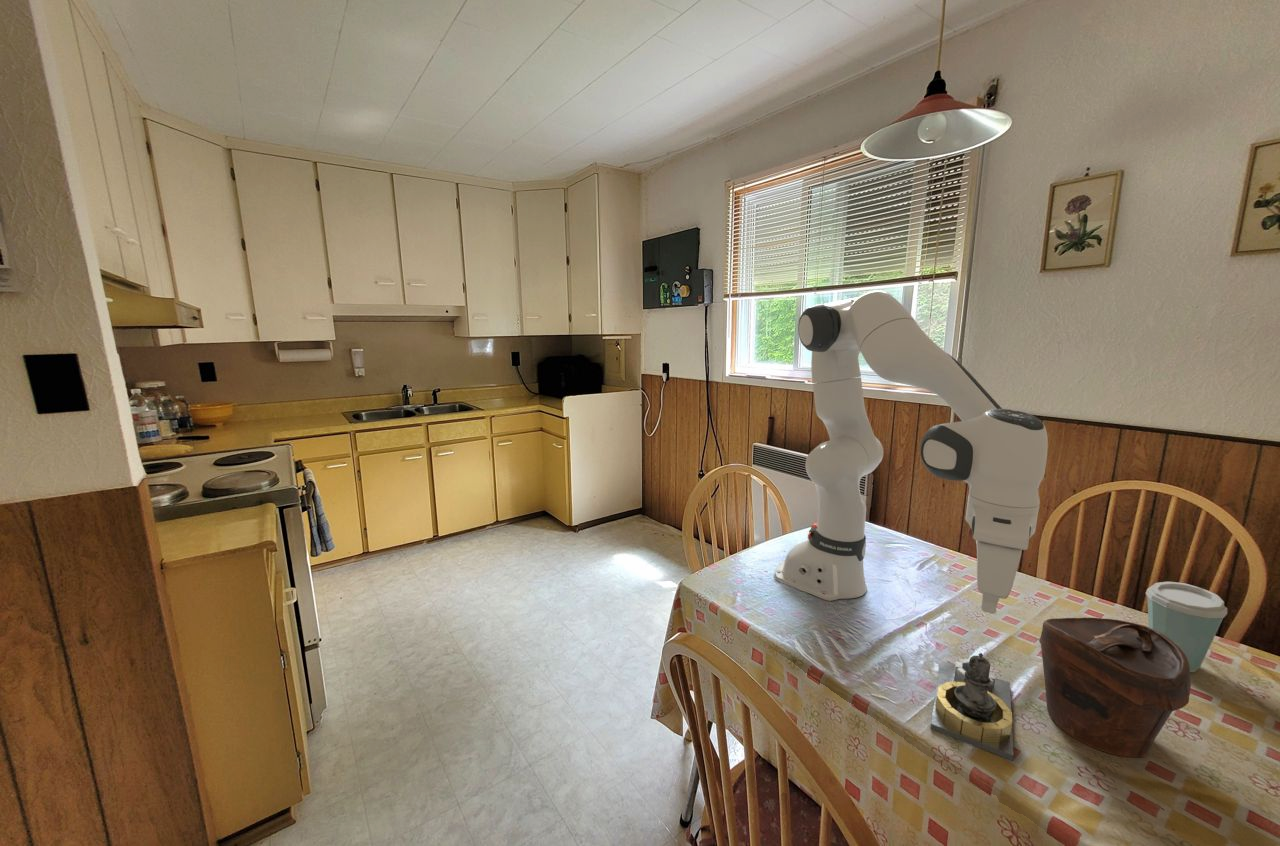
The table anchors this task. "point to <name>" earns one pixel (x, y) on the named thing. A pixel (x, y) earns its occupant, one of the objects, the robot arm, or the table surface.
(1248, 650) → the table surface
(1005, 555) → the robot arm
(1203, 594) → the disposable coffee cup
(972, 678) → the stone chess piece
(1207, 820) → the table surface
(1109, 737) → the case
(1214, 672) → the table surface
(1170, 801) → the table surface
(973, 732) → the socket plate
